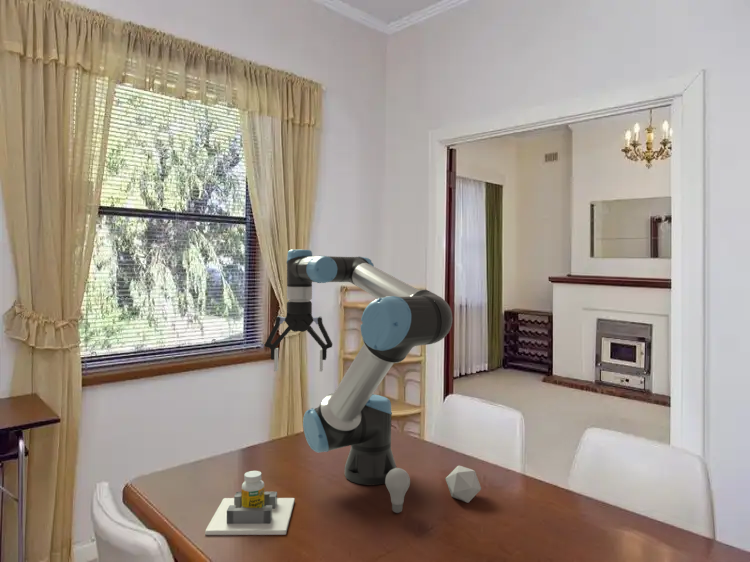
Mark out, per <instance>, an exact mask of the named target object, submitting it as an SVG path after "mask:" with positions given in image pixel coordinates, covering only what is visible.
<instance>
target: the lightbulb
mask: <svg viewBox="0 0 750 562" xmlns="http://www.w3.org/2000/svg"><path fill="white" fill-rule="evenodd" d="M410 485H411V478H410V475H409V473H408V472H407V471H406V470H405V469H403V468H401V467H396V468H394V469H392V470H390V471H389V472H388V474H387V475H386V479H385V486H386V488H387V490H388V492H389V494H390V495H389V496H390V502H391V511H392V512H393V513H396V514H399V513H401V512H402V511H403V507H404V506H403V505H404V501H405V495H406V493H407V491H408V490H409V488H410Z"/></svg>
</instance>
